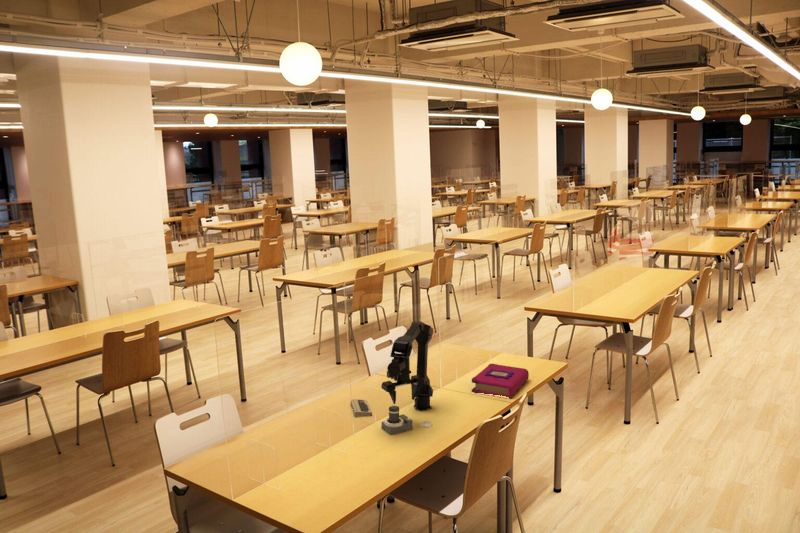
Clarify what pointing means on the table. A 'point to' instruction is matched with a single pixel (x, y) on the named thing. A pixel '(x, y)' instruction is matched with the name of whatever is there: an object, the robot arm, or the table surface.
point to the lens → (394, 414)
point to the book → (499, 380)
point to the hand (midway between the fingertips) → (403, 401)
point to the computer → (360, 408)
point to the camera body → (398, 425)
